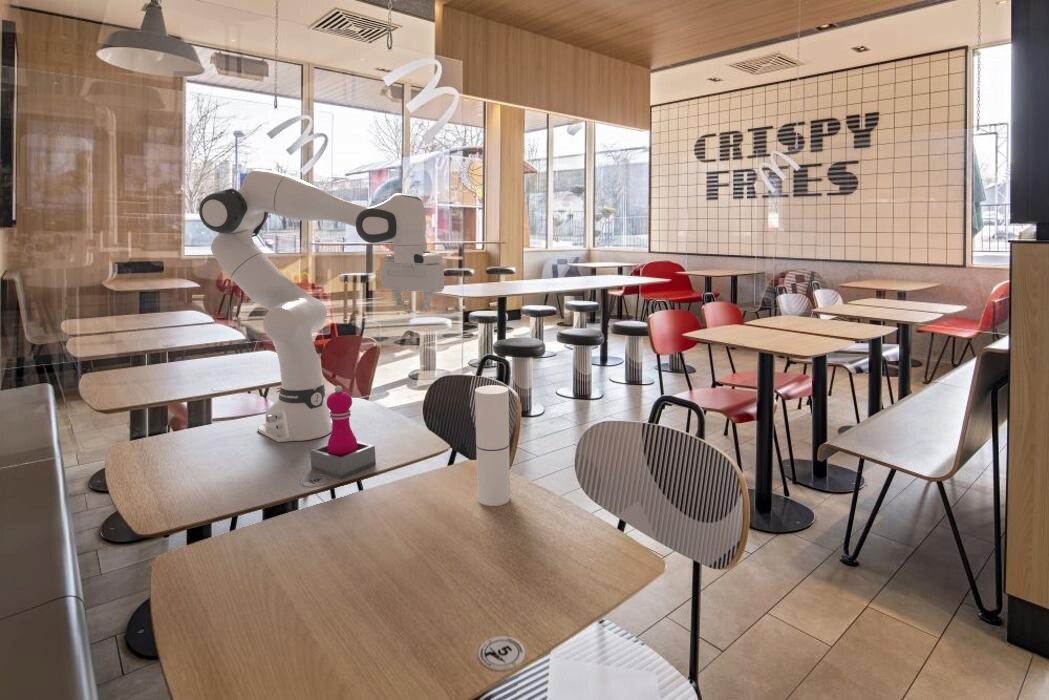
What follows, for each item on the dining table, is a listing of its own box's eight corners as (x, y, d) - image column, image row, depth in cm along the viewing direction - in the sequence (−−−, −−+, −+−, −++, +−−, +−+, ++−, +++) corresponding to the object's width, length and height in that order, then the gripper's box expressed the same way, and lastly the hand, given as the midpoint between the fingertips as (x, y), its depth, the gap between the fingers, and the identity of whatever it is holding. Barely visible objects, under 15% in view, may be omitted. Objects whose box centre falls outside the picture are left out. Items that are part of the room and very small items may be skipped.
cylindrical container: (474, 504, 138) (471, 393, 133) (481, 491, 145) (479, 384, 140) (506, 507, 137) (504, 394, 132) (512, 493, 144) (511, 385, 138)
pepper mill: (362, 458, 162) (358, 382, 158) (352, 469, 155) (346, 389, 151) (335, 457, 163) (330, 381, 159) (323, 468, 156) (317, 389, 152)
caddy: (311, 469, 158) (310, 450, 157) (346, 455, 167) (345, 437, 166) (341, 479, 152) (340, 459, 151) (375, 464, 161) (374, 445, 160)
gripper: (374, 255, 173) (377, 306, 176) (430, 257, 162) (433, 311, 165) (391, 254, 178) (393, 303, 181) (447, 256, 167) (448, 308, 170)
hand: (412, 307), depth 173 cm, fingers open, 8 cm apart
